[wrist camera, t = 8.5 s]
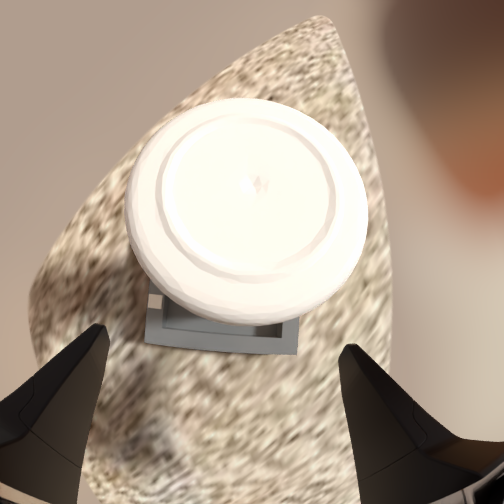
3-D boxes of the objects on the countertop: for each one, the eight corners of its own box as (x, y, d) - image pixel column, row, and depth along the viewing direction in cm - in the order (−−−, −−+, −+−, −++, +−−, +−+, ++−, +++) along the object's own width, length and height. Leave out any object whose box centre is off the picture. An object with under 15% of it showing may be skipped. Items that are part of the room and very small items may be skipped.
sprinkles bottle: (273, 269, 18) (398, 161, 5) (239, 330, 17) (315, 378, 4) (212, 234, 18) (212, 64, 5) (176, 295, 17) (69, 233, 4)
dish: (287, 350, 18) (297, 355, 15) (152, 339, 17) (143, 342, 14) (293, 222, 20) (303, 210, 17) (168, 210, 19) (162, 195, 16)
